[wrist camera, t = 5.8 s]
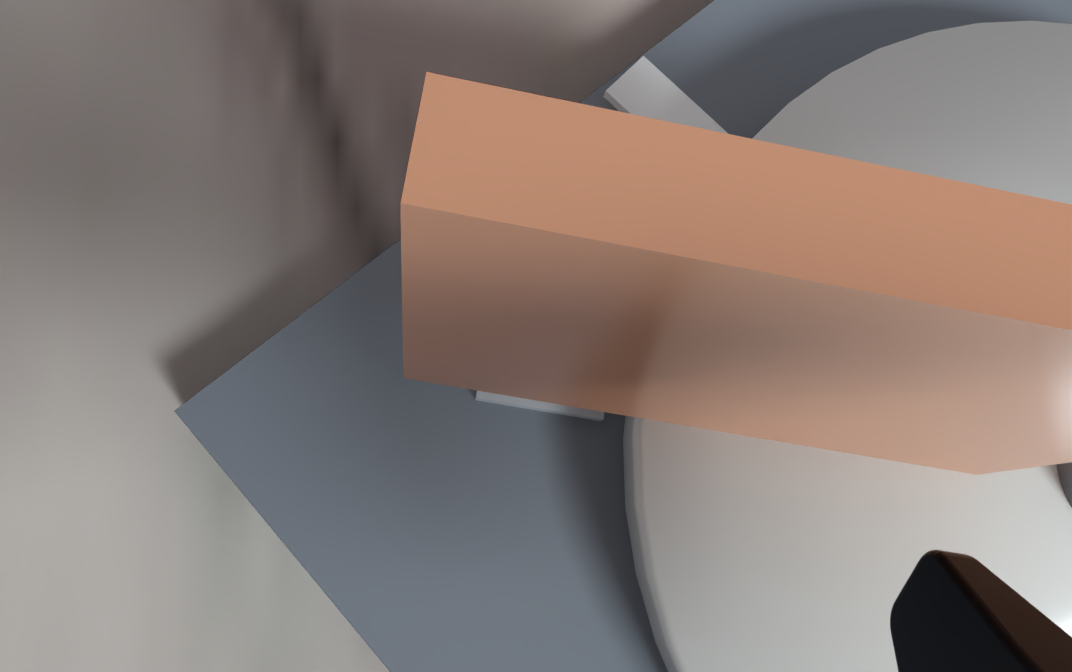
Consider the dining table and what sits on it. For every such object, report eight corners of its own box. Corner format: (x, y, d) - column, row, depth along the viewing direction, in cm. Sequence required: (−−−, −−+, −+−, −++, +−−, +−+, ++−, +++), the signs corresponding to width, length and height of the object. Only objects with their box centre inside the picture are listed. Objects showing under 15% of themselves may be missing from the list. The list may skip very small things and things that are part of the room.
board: (1092, 1511, 15) (1165, 1612, 13) (190, 420, 17) (170, 409, 15) (1668, 529, 21) (1757, 528, 19) (962, -173, 23) (998, -219, 22)
